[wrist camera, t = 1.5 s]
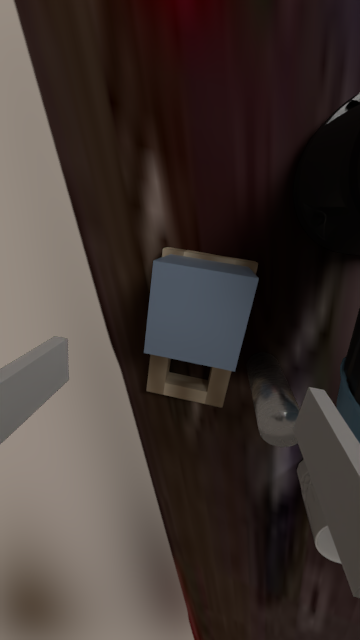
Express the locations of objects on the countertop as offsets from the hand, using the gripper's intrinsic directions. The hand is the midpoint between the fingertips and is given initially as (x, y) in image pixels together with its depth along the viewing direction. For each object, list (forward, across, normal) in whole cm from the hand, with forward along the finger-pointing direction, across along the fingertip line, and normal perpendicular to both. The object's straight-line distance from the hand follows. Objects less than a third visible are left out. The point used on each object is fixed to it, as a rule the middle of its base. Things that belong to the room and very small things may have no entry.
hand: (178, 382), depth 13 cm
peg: (+21, +10, -9) cm, 25 cm away
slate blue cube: (+18, 0, 0) cm, 18 cm away
